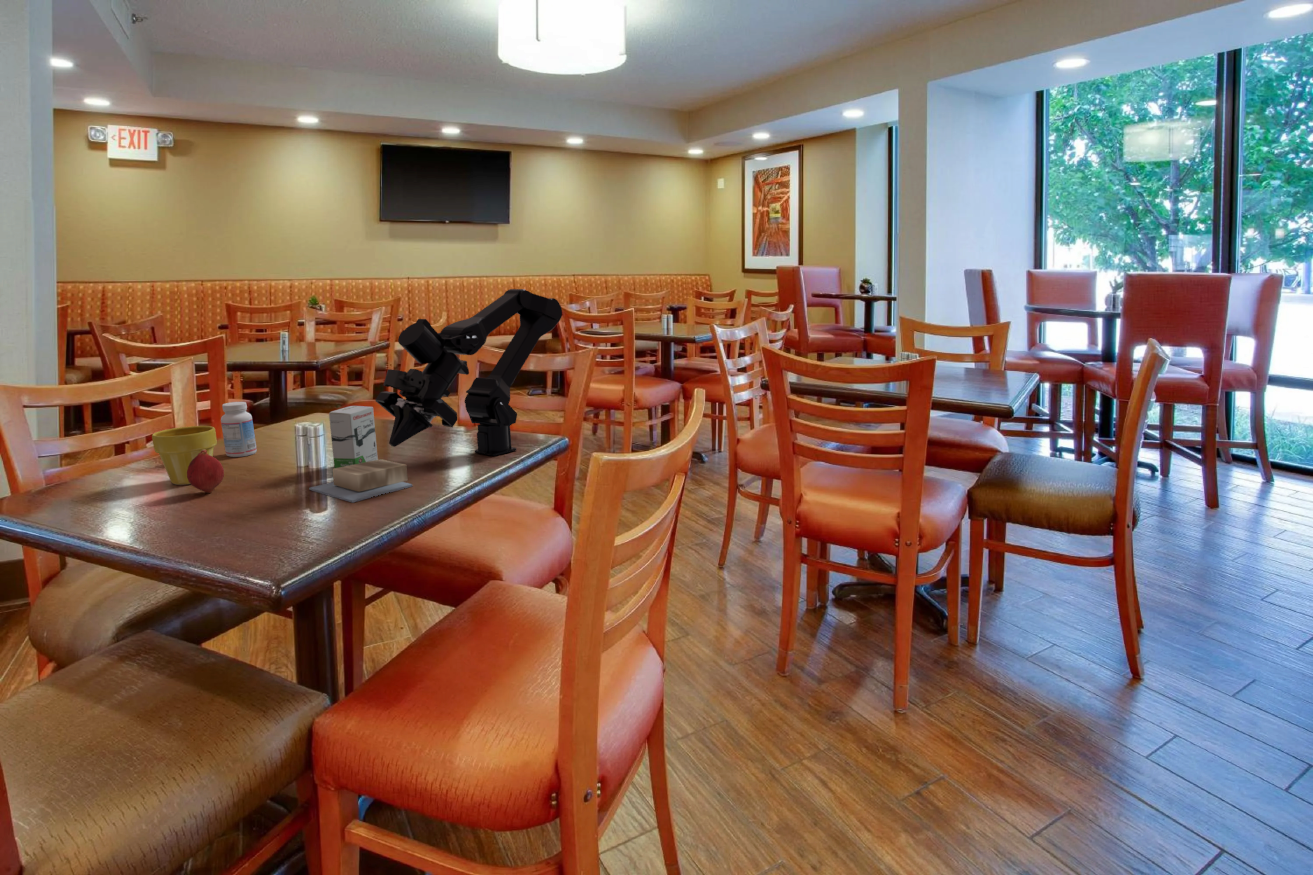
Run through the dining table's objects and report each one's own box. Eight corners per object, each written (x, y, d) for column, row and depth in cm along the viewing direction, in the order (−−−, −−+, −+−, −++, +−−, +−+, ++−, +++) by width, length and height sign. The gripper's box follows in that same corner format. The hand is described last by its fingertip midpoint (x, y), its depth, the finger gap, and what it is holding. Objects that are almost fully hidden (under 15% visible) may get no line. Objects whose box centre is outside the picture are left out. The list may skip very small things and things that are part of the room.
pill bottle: (250, 449, 179) (244, 400, 176) (261, 453, 175) (254, 402, 172) (221, 454, 175) (214, 404, 172) (231, 459, 170) (224, 407, 168)
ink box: (356, 472, 157) (349, 413, 154) (333, 472, 158) (326, 412, 155) (379, 461, 165) (374, 405, 162) (358, 461, 166) (351, 404, 163)
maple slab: (381, 459, 153) (332, 468, 145) (406, 464, 148) (357, 475, 140) (382, 475, 154) (334, 485, 146) (407, 481, 149) (358, 492, 141)
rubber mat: (368, 475, 155) (368, 473, 154) (412, 486, 146) (412, 484, 146) (309, 489, 145) (309, 487, 145) (352, 502, 137) (352, 500, 137)
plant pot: (176, 474, 159) (168, 426, 156) (231, 472, 159) (224, 424, 157) (148, 489, 149) (140, 437, 146) (207, 486, 149) (199, 435, 147)
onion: (189, 499, 141) (182, 455, 140) (190, 491, 146) (184, 448, 145) (226, 494, 144) (220, 450, 142) (226, 486, 149) (220, 444, 147)
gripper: (379, 350, 156) (332, 415, 150) (439, 355, 145) (391, 426, 138) (417, 384, 164) (374, 448, 158) (476, 392, 152) (433, 460, 146)
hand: (391, 445), depth 150 cm, fingers closed
